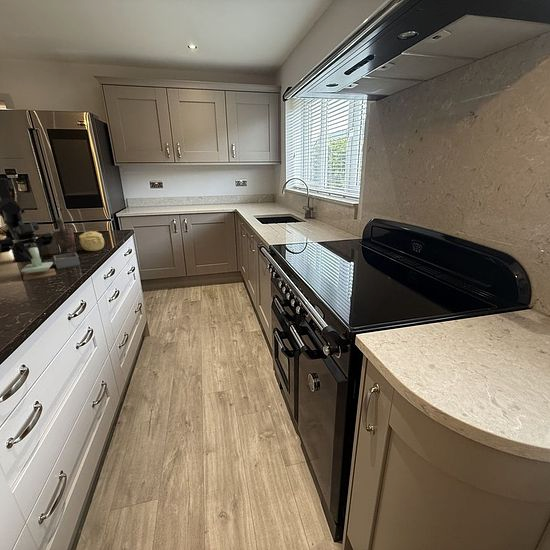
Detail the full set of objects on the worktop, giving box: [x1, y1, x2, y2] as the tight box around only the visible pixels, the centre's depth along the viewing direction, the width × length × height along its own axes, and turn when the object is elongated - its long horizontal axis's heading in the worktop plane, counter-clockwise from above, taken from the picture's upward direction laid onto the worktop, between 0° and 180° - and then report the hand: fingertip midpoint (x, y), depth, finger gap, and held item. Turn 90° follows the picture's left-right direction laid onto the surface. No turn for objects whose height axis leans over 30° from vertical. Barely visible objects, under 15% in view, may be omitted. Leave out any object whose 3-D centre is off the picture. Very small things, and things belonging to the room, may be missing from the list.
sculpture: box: [78, 230, 105, 252], centre depth 169 cm, size 12×12×11 cm
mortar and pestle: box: [52, 217, 78, 255], centre depth 158 cm, size 12×9×20 cm
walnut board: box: [22, 267, 57, 282], centre depth 129 cm, size 11×11×1 cm
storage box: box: [53, 252, 81, 270], centre depth 141 cm, size 9×9×4 cm
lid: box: [21, 246, 54, 273], centre depth 127 cm, size 9×9×9 cm
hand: (36, 257), depth 126 cm, fingers closed on lid, 3 cm apart
